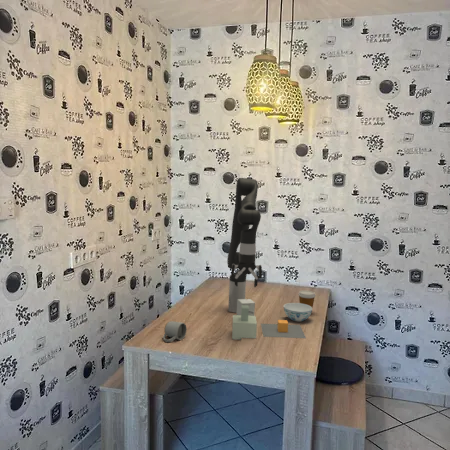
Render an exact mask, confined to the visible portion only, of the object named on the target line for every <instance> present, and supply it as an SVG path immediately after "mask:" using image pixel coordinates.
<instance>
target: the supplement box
mask: <svg viewBox="0 0 450 450" xmlns="http://www.w3.org/2000/svg"><path fill="white" fill-rule="evenodd" d="M242 305H248V307H249V312H248V316H255V309H256V302H255V301H253V300H252V299H251V298H245V299H237V313H236V315H241V307H242Z"/></svg>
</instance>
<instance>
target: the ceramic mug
mask: <svg viewBox="0 0 450 450" xmlns="http://www.w3.org/2000/svg"><path fill="white" fill-rule="evenodd" d="M187 328H188V327H187V325H186V323H185V322H182V321H171V320H170V321H167V323H166V324H165V326H164V334H163V336H162V337H163V341H164V342H166V343H172V342H174V341H175V340H179V341H182V340H183V339H184V338H185V337H186V335H187ZM166 337H168V338H169V339H167V338H166Z"/></svg>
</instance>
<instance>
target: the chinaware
mask: <svg viewBox="0 0 450 450" xmlns="http://www.w3.org/2000/svg"><path fill="white" fill-rule="evenodd" d="M283 310H284V314H285V315H286V316H287V318H288V319H290V320H292V321H293V322H297V323H298V322H304V321H306V320H307V319H308V318H309V317H310V316H311V315H312V314H311V312H313V308H312V307H311V306H309V305H306V304H302V303H299V302H289V303H284V304H283ZM310 314H311V315H310Z"/></svg>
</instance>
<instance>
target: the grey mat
mask: <svg viewBox="0 0 450 450" xmlns="http://www.w3.org/2000/svg"><path fill="white" fill-rule="evenodd" d="M260 326H261V332H262V335H263V337H265V338H266V337H267V338H283V339H285V338H290V339H307V337H306V335H305V333H304V330H303V328H302V326H301V324H288V332H278V329H277V326H278V323H260Z"/></svg>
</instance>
